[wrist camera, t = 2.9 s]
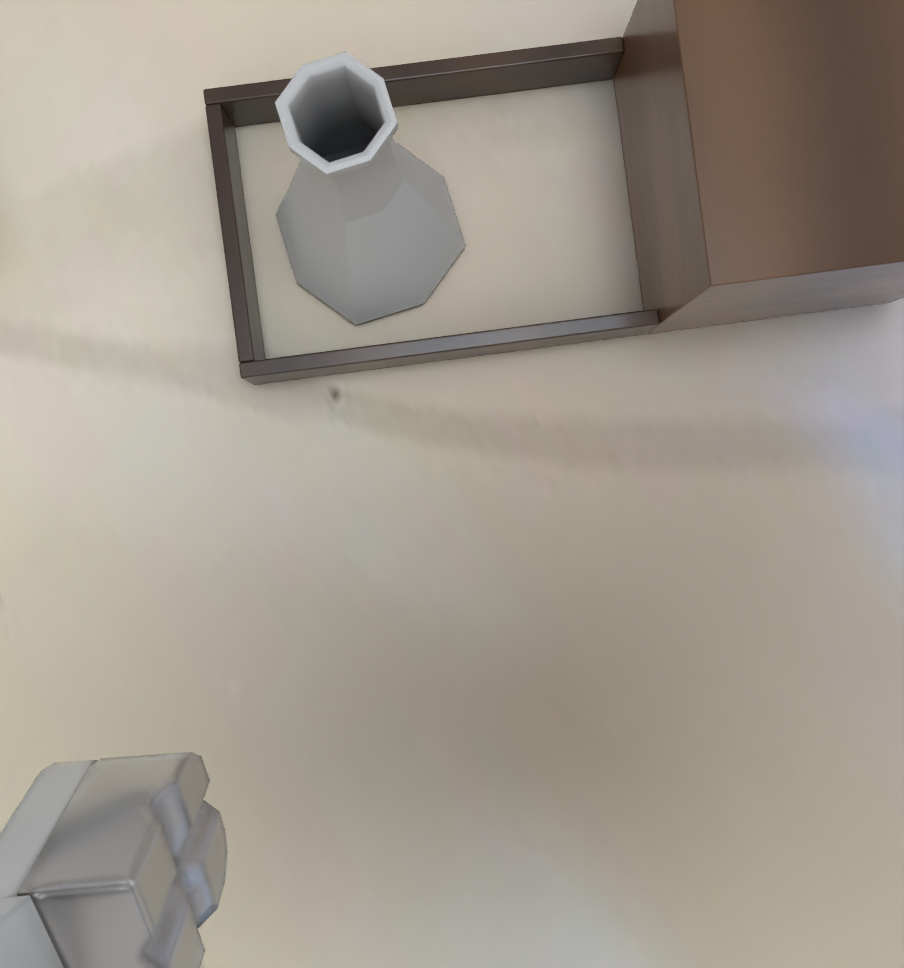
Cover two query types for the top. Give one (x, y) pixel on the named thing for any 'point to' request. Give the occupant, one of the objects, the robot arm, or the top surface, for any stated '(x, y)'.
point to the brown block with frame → (673, 168)
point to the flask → (360, 196)
